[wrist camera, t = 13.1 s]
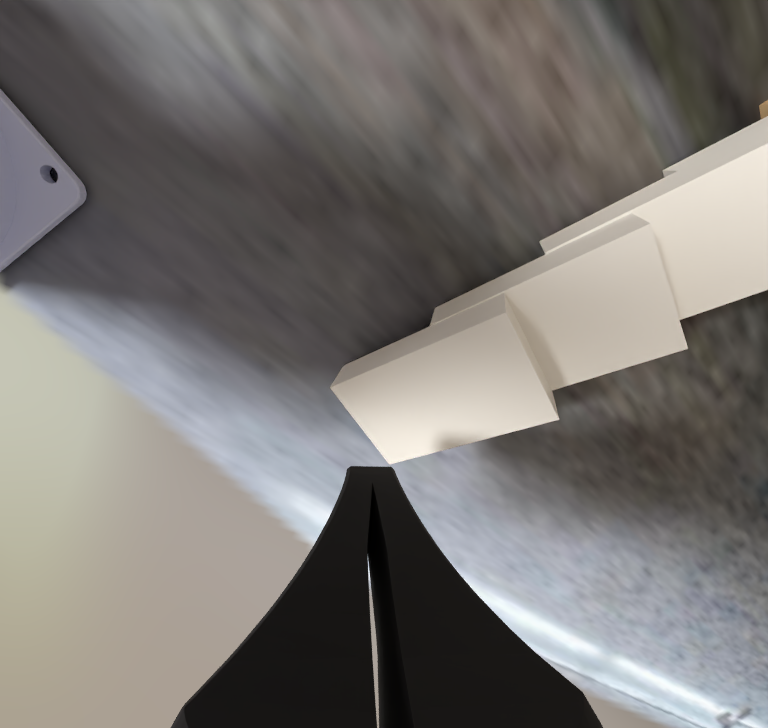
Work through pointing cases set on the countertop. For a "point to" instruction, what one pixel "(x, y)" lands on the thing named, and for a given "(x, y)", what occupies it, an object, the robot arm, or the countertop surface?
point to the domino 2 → (589, 303)
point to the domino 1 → (448, 385)
